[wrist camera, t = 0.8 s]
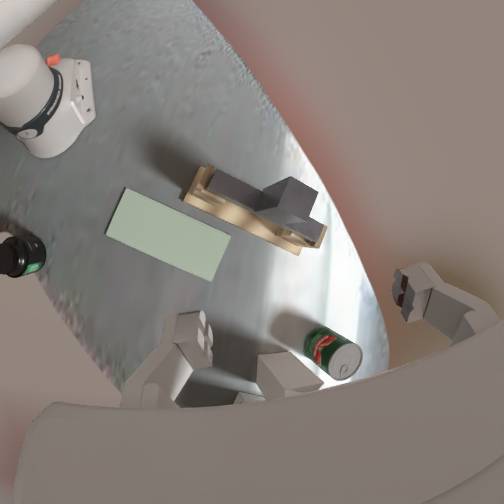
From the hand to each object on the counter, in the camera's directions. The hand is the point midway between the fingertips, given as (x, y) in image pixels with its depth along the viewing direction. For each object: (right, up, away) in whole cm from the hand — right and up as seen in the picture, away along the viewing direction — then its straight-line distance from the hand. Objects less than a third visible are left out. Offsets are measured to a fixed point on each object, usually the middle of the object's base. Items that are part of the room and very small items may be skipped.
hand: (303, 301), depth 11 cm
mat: (-17, +5, +37) cm, 41 cm away
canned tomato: (+12, -18, +47) cm, 52 cm away
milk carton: (+2, -22, +45) cm, 50 cm away
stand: (-2, +9, +41) cm, 42 cm away
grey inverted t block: (0, +9, +34) cm, 35 cm away
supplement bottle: (-43, +2, +30) cm, 53 cm away
